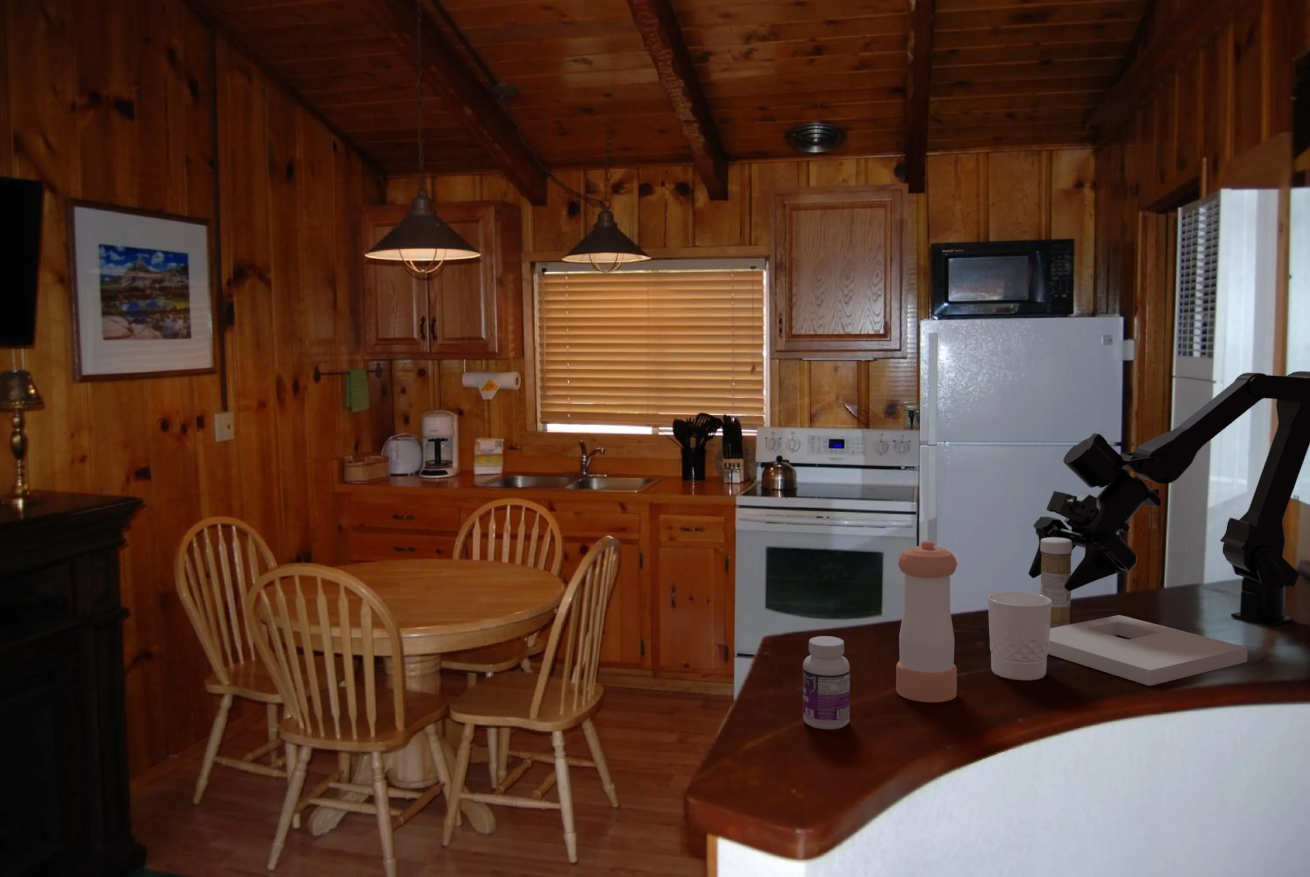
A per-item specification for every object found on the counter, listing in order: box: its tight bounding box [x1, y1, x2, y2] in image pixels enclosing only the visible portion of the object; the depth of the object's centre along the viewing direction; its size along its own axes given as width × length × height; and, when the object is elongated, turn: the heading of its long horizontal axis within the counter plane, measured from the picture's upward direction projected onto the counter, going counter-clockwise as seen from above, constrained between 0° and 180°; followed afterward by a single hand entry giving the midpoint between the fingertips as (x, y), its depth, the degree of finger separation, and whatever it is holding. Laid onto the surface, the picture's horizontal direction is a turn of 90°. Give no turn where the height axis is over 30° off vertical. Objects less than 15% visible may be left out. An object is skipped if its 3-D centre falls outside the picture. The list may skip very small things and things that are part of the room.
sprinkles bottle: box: [1039, 537, 1073, 628], centre depth 157 cm, size 5×5×13 cm
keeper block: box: [1048, 614, 1248, 686], centre depth 142 cm, size 20×20×2 cm
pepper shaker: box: [895, 540, 958, 703], centre depth 127 cm, size 7×7×19 cm
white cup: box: [987, 591, 1052, 681], centre depth 135 cm, size 8×8×10 cm
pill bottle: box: [802, 635, 851, 730], centre depth 118 cm, size 5×5×10 cm
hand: (1048, 582), depth 157 cm, fingers open, 9 cm apart
